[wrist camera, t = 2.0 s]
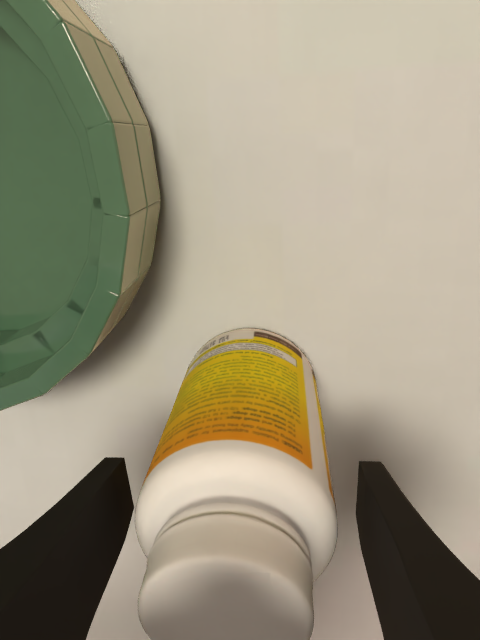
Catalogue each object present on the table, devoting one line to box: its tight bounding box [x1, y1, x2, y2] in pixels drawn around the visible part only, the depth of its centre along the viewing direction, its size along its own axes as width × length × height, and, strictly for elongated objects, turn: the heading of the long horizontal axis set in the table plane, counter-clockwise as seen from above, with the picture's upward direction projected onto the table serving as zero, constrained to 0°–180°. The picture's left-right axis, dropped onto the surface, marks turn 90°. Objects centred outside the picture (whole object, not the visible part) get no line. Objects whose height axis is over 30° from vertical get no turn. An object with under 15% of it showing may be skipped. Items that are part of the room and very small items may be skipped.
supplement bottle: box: [135, 328, 338, 640], centre depth 14 cm, size 6×6×10 cm
